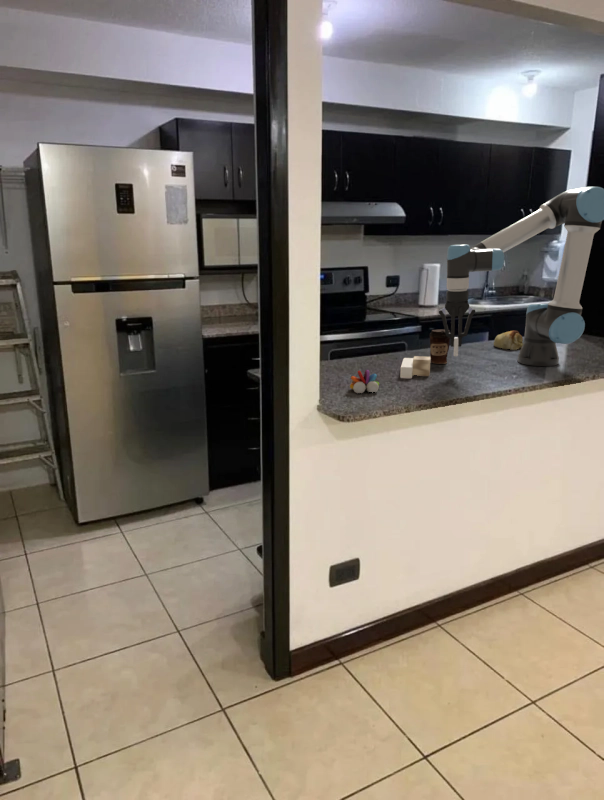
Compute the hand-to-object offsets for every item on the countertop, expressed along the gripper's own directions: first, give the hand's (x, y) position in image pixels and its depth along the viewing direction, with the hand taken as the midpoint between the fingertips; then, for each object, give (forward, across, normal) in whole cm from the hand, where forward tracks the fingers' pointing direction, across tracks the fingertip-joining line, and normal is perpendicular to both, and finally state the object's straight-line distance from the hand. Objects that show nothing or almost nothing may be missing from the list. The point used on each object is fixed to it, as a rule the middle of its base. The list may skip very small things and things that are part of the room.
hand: (455, 355), depth 215 cm
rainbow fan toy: (+6, +30, +30) cm, 43 cm away
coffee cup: (+7, +6, -18) cm, 20 cm away
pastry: (+9, -24, -56) cm, 62 cm away
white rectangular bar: (+6, +17, +2) cm, 18 cm away
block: (+7, +12, +2) cm, 14 cm away
